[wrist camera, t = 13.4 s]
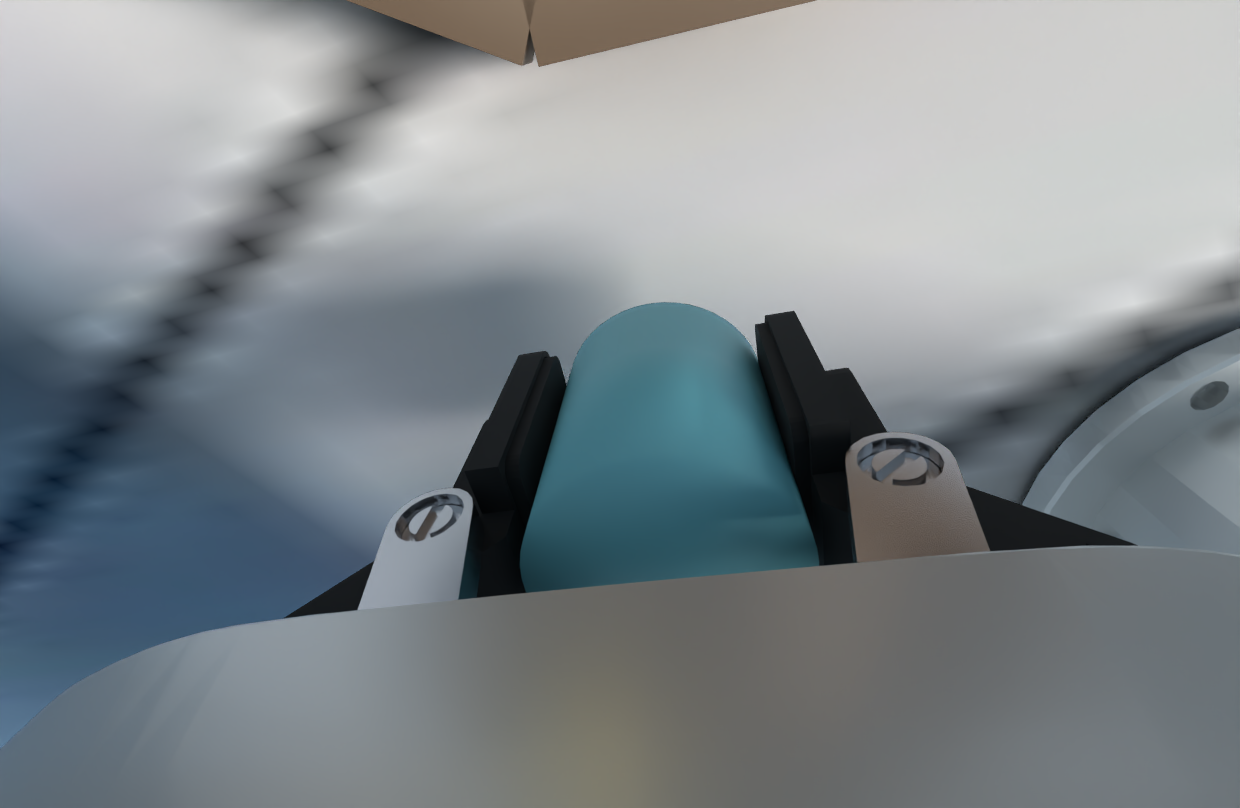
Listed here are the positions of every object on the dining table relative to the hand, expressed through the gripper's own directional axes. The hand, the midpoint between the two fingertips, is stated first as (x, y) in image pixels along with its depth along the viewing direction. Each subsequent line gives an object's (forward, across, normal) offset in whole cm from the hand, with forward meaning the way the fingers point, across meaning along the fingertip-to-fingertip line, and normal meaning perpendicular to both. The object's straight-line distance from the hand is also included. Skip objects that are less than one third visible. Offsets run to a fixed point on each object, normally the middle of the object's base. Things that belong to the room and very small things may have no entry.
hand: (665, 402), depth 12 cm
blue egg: (0, 0, 0) cm, 0 cm away
